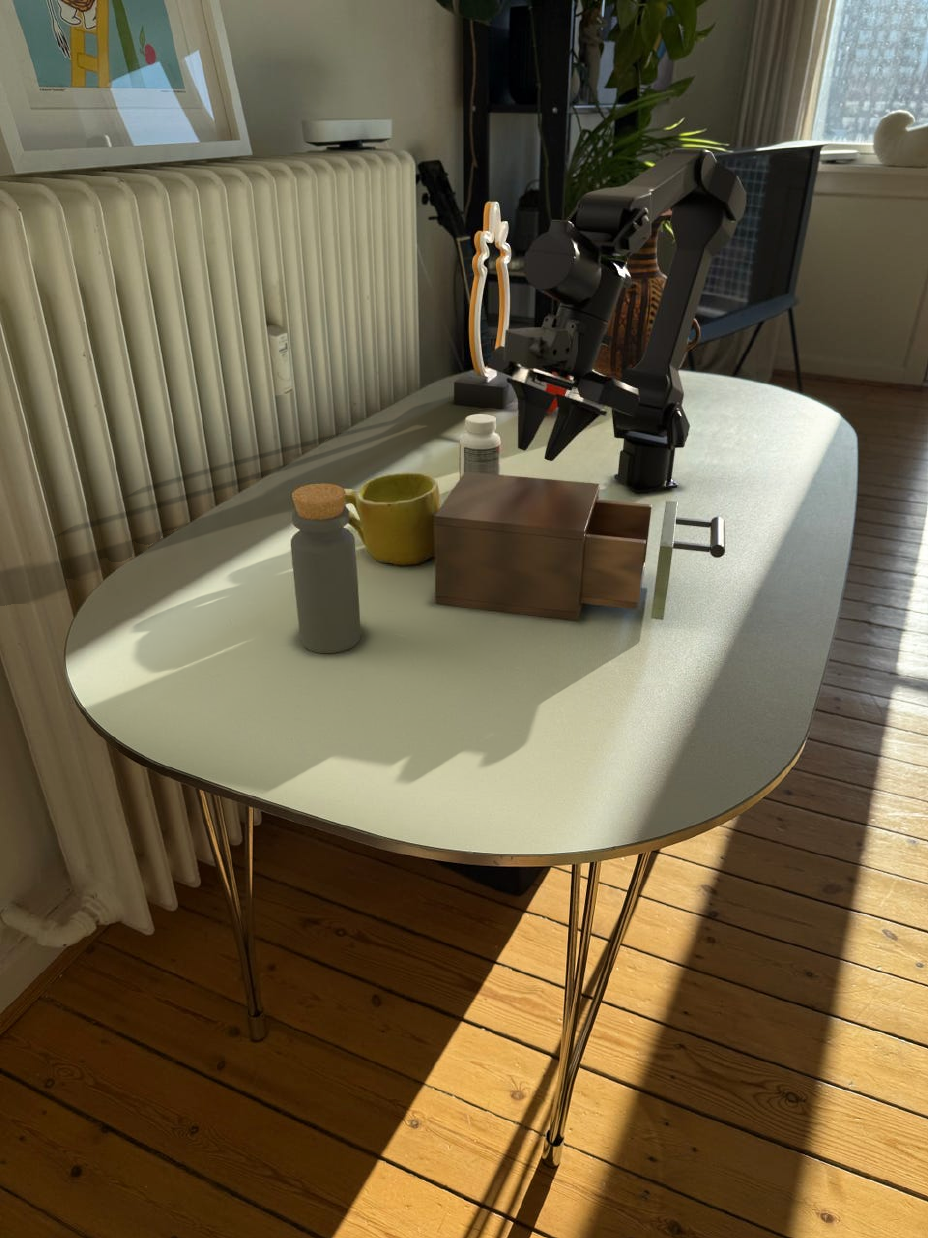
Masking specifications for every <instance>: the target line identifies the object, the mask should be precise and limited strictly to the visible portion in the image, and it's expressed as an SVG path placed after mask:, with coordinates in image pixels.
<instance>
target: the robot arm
mask: <svg viewBox="0 0 928 1238" xmlns="http://www.w3.org/2000/svg"><path fill="white" fill-rule="evenodd" d="M746 206H747V193H746V191H745V188H744V186H743V184H742V182H741V180H740V178H739V176H738V175H737V174H736V173H734V172H733V171H732V170H730V169H729V168H727V167H726V166H724V165H723V164H722V163H720V162H718V161H717V159H716V157H715V155H714V153H713V152H712V151H710V150H707V149H706V148H697V147H696V148H693V147H675V148H674V149H671V150H668V152H667V153H666V154H665V157H664V158H662V159H660V160H658V162H656V163H655V164H654V165H652V166H650V167H649V168H648V169H646V170H645V171H643V172H642V173H640V174H639V175H637V176H636V177H635V178H633V179H632V180H630V181H629V182H627V183H625V184H624V185H621V186H615V187H606V188H600V189H596V190H592V191H589V192H587V193H585V194H583V195H582V197H580V198H579V200H578V202H577V203H576V206H575V207H574V208H573V210H572V211H571V213H570V214H569V215H568V216H567V218H566V219H565V220H560V219H551V220H550V223H549V228H548V231H546V232H544V233H541V234H540V235H539V236H538V237H536V238H535V240H534V241H533V242H532V243H531V244H530V246H529V248H528V250H526V251H525V253H524V257H523V263H522V267H523V275H524V277H525V280H526V281H527V283H528V284H529V285H530V286H531V287H533V288H534V289H535V290H537V291H539V292H541V293H543V294H545V295H546V296H547V297H549V298H551V299H552V300H555V301H556V302H558V303H559V307H558V309H557V312H556V315H555V314H551V313H548V314H547V316H545V317H544V319H543V322H542V324H541V327H519V328H508V329H507V330H506V332H505V345H504V347H503V346H499V347H498V348H496V349H495V348H494V350H492V351H491V354H490V357H489V359H488V363H487V365H486V366H487V368H490V369H493V370H495V371H497V373H503V374H506V375H509V376H511V377H512V378H511V379H510V378H506V380H507V383H510V384H511V385H512V387H513V389H514V391H515V394H516V396H517V397H516V400H517V401H516V402H517V448H518V450H521V451H527V449H528V448H529V447H530V445H531V443H532V442H533V440H534V439H535V437H536V435H537V433H538V431H539V429H540V427H541V426H542V424H543V421H544V420H545V417H546V416H547V415H548V414H547V412H548V410H549V408H550V406H551V405H552V403H553V401H554V399H555V397H556V400H557V406H558V407H557V414H556V417H555V420H554V422H553V426H552V429H551V432H550V435H549V438H548V441H547V443H546V448H545V452H544V460H546V461H549V462H553V461H554V460H555V459H556V458H557V457H558V456H559V455H560V454H561V453H562V452H563V451H564V450H565V449H566V448H567V447H568V446H569V445H570V444H571V443H572V441H574V440H575V439H576V438H577V437H578V436H579V434H581V433H582V432H583V431H584V430H585V429H586V428H588V426H590V425H591V424H592V423H593V422H594V421H595V420H597V419H598V418H599V417H600V416H603V417H606V416H607V415H608V411H606V410H604V409H605V407H608V408H610V409H611V420H612V430H613V438H615V439H622V440H623V445H622V449H621V450H620V451H619V456H618V457H619V458H618V467H617V473H616V474H614V475H613V479H614V480H616V481H617V482H618V483H620V484H622V485H623V486H624V487H626V488H627V489H628V490H630V491H632V492H633V493H635V494H647V493H651V492H657V491H665V490H671V489H677V488H678V485H679V484H678V483H677V482H676V481H674V480H672V478H673V471H674V462H675V454H676V449H679V448H681V449H682V448H684V447H685V446H686V442H687V439H688V437H689V432H690V428H691V425H690V422H689V420H688V418H687V416H686V415H687V414H686V413H685V411H684V408H683V401H684V398H685V392H684V388H683V384H682V380H681V377H680V372H679V371H680V368H681V367H680V363H681V360H682V357H683V353H684V350H685V347H686V344H687V340H688V337H689V338H690V334H691V330H692V327H693V325H692V324H693V320H694V318H695V317H696V313H697V310H698V307H699V303H700V300H701V297H702V294H703V290H704V287H705V284H706V280H707V277H708V274H709V272H710V271H709V270H710V267H711V264H712V261H713V258H714V257H715V256H716V255H717V254H718V253H719V252H721V250H722V249H723V248H724V247H725V246H726V245H727V244H728V243H729V242H730V241H731V240H732V239H733V237H734V234H735V231H736V229H737V226H738V223H739V221H740V220H741V219H742V218H743V216H744V213H745V211H746ZM668 209H670V210H671V211H672V214H671V219H670V221H669V225H670V228H671V232H672V236H673V239H674V243H675V247H674V251H673V255H672V258H671V261H670V265H669V268H668V272H667V274H666V277H667V278H666V281H665V285H664V288H663V291H662V295H661V298H660V301H659V305H658V308H657V312H656V315H655V318H654V322H653V325H652V329H651V332H650V335H649V339H648V342H647V345H646V349H645V352H644V355H643V358H642V360H641V361H640V362H639V363H638V364H637V365H636V366H635V367H634V368H633V369H630V368H627V369H626V370H625V371H624V372H623V374H622V377H621V382H620V381H618V380H615V379H613V378H610V377H606V376H604V375H602V374H600V373H598V372H596V371H594V370H593V367H594V364H595V361H596V359H597V356H598V353H599V350H600V348H601V345H602V344H603V345H607V346H609V345H610V343H611V340H612V337H611V336H609V335H607V334H606V331H607V328H608V325H609V322H610V320H611V317H612V314H613V311H614V309H615V306H616V303H617V300H618V298H619V295H620V292H621V289H622V286H623V287H627V288H630V287H631V284H632V282H631V276H630V274H629V273H628V270H627V263H626V261H624V260H621V259H620V260H619V259H616V258H607V257H605V255H606V256H614V257H615V256H616V257H618V256H619V257H624V256H628V255H633V254H635V253H636V252H637V251H638V250H639V249H640V248H641V247H642V246H643V244H644V243H645V242H646V241H647V240H648V239H649V237H650V236H651V223H652V222H653V221H654V220H655V219H656V218H658V217H659V216H660V215H662V214H663V213H664V212H666V211H667V210H668ZM602 255H604V256H602ZM679 367H680V368H679ZM553 372H555V373H557V375H554V374H552V373H553ZM568 376H570V377H572V379H571V378H570V379H568ZM547 383H548V384H551V385H554V386H557V387H560V388H563V389H567V391H569V393H568V396H566V395H565V396H563V395H559V394H556V395H554V394H551V393H549V392H546V391H545V390H546V387H547V385H546V384H547Z"/></svg>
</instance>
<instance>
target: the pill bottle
mask: <svg viewBox="0 0 928 1238" xmlns="http://www.w3.org/2000/svg"><path fill="white" fill-rule="evenodd" d="M496 428H497V418H496V417H495V416H493V415H491V414H484V413H478V414H475V413H474V414H471V415H467V416H466V417H465V419H464V430H465V432H464V433H463V434H461V435H460V437H459V441H458V442H459V444H458V445H459V479H460V478H461V477H462V476H463V474H464V473H465V472H475V473H486V474H497V475H501V437H500V435H499V434H498V433H496V432H495V431H496Z"/></svg>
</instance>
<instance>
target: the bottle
mask: <svg viewBox="0 0 928 1238" xmlns="http://www.w3.org/2000/svg"><path fill="white" fill-rule="evenodd" d="M344 489H345V488H344V487H342V486H339V485H337V484H333V483H312V484H306V485H303V486H300V487H298V488H297V489H294V491H293V492H292V494H291V497H292V500H293V504H294V507H295V508H294V509H293V511H292V512H291V521H292V525H293V527H295V528H296V529H297V530H298V531H296V532H295V533H294V534H293V535H292V537H291V538H290V554H291V564H292V575H293V585H294V595H295V605H296V613H297V622H298V633H299V639H300V644H301V645H302V646H303V647H304V648H305V649H307V650H309V651H310V652H315V653H318V654H335V653H341V652H344V651H347V650H349V649H352V648H353V647H355V646H356V645H357V644H358V643H359V642H360V640H361V636H362V635H361V615H360V614H361V613H360V597H359V583H358V582H359V579H358V565H357V563H358V562H357V549H356V538H355V536H354V535H355V534H353V532H352V531H351V530H349V529H347V528H346V526H347V525H349V524H348V523H349V518H350V516H349V510H350V509H349V508H348V507H347V505H346V506H344V502H345V495H346V492H345V490H344Z"/></svg>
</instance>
